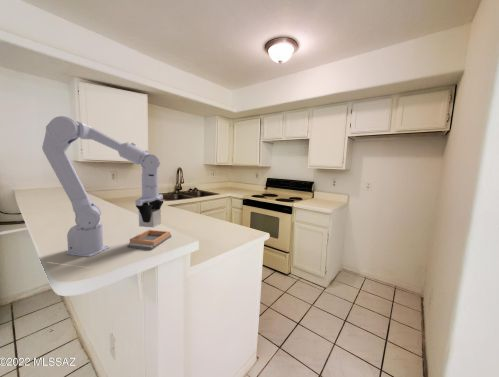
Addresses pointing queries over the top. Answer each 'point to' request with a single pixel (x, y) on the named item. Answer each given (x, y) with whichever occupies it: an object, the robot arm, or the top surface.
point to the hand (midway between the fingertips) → (150, 220)
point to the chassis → (149, 239)
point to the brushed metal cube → (151, 219)
